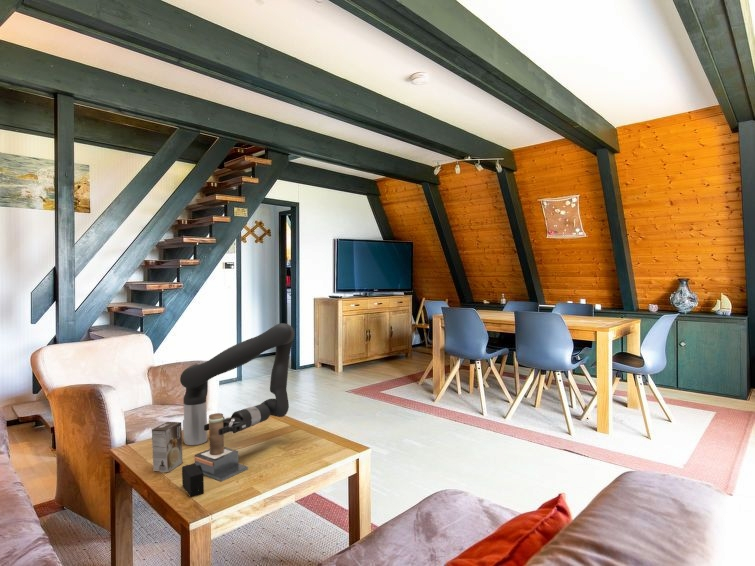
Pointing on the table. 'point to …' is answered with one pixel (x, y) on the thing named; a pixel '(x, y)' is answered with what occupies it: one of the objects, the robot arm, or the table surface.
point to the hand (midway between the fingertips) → (211, 430)
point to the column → (216, 434)
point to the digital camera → (193, 479)
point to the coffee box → (167, 446)
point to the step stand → (220, 464)
